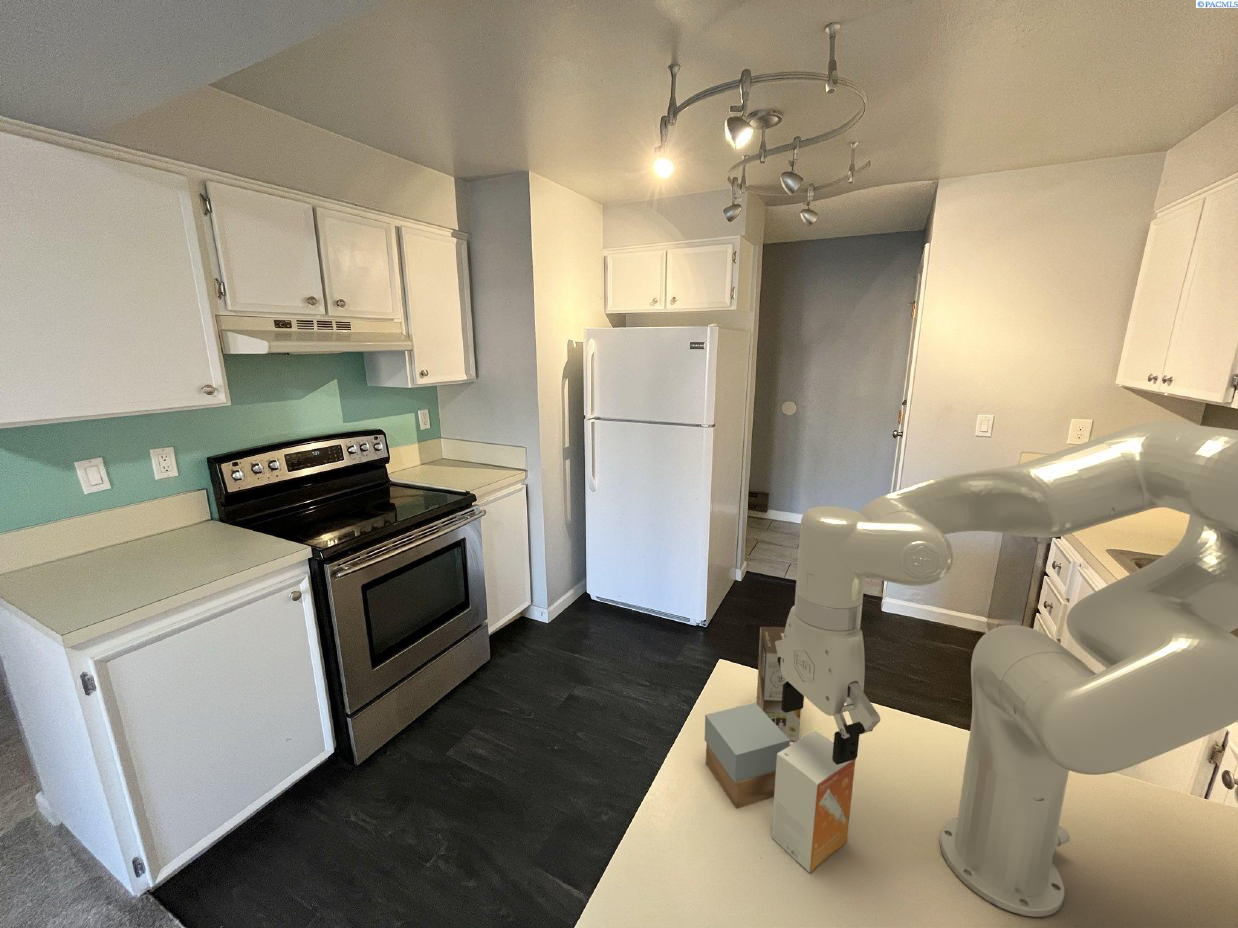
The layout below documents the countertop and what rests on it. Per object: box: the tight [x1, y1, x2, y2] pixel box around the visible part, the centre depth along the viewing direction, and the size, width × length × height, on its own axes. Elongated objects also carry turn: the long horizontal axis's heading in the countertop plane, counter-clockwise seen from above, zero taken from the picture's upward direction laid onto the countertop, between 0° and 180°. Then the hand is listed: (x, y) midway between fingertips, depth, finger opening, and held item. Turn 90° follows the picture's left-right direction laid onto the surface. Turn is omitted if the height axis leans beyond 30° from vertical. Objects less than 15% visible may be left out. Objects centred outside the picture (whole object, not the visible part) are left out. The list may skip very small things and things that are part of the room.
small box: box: [770, 730, 857, 873], centre depth 68 cm, size 8×6×13 cm
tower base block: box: [705, 743, 776, 810], centre depth 79 cm, size 9×9×4 cm
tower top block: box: [704, 702, 791, 783], centre depth 78 cm, size 9×9×4 cm
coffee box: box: [756, 626, 802, 742], centre depth 90 cm, size 9×6×16 cm
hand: (816, 733), depth 66 cm, fingers open, 9 cm apart
